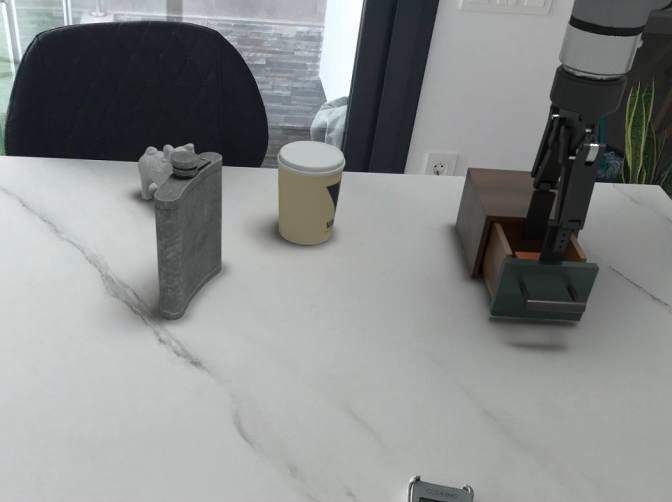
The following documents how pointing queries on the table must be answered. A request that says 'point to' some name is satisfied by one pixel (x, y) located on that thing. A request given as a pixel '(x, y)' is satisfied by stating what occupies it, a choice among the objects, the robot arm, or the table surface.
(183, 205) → the flask
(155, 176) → the dog figurine
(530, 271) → the drawer
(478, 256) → the cabinet
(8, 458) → the table surface
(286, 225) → the coffee cup
